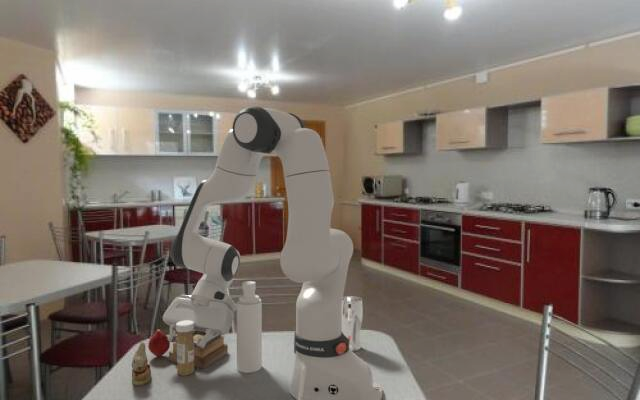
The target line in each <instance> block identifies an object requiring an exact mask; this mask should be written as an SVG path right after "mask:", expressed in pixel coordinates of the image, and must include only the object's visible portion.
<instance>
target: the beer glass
mask: <svg viewBox="0 0 640 400" xmlns="http://www.w3.org/2000/svg"><path fill="white" fill-rule="evenodd" d="M363 310H364V309H363V299H362V298H361V297H360V296H355V295H347V296H343V300H342V332H343V334H344V335H345V336H346V337H347V338H348V337H349V336H351V338H350V339H351V341H350V342H349V349H350V350H351V351H352V352H357V351H360V350H361V349H360V348H362V346H361V338H360V336H361V329H362V323H363V313H364V312H363Z"/></svg>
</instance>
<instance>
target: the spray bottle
mask: <svg viewBox="0 0 640 400" xmlns="http://www.w3.org/2000/svg"><path fill="white" fill-rule="evenodd" d="M241 286H242V289H241V290H242V291H243V294H242V295H240V296H239V297H238V298H237V299H236V306H237V309H236V369H237V371H238V372H239V373H245V374H250V373H256V372H258V371H260V370H261V369H262V365H263V359H262V358H263V356H262V355H263V352H262V351H263V350H262V349H263V347H262V346H263V344H262V343H263V342H262V340H263V339H262V338H263V335H262V333H263V328H262V324H263V323H262V322H263V321H262V319H263V318H262V317H263V316H262V313H263V312H262V309H263V307H262V304H263V303H262V298H261V297H260V296H259V295H257V294H255V293H256V292H255V291H256V290H257V285H256V281H252V280H249V281H248V280H247V281H246V280H245V281H243V282H242V285H241Z"/></svg>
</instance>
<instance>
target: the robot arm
mask: <svg viewBox="0 0 640 400" xmlns="http://www.w3.org/2000/svg"><path fill="white" fill-rule="evenodd" d="M266 155H277V157H278V158H279V159H280V161H281V165H282V170H283V171H282V172H283V179H284V184H285V191H286V192H285V193H286V198H287V205H288V207H287V209H288V220H287V233H286V239H285V243H284V246H283V248H282V250H281V253H280V257H279V264H280V268H281V270H282V273H283V274H284V275H285V276H286V278H288V279H289V280H290V281H292V282H293V283H297V284H302V285H301V286H302V287H301V290H300V292H299V295H298V296H297V299H296V303H295V305H296V306H295V307H296V308H295V312H296V313H295V317H296V318H295V320H296V321H295V322H296V323H295V331H294V337H293V351H294V355H295V357H294V364H293V365H294V366H293V373H292V376H291V382H290V385H289V388H288V390H289V393H290V395H291V397H293V399H295V400H382V398H383V388H382V386H381V384H379V383H378V382H375V381H374V380H373V372H372V370H371V367H370V365H369V364H368V363H366V362H365V361H364V360H363V359H362V358H360V357H359V356H358V355H357V354H356V353H354V351H351V350H350V349H349V342H350V341H351V339H350V338H351V336H349V337H348V338H347V337H346V336H345V335H344V334H343V332H342V300H343V297H344V292H345V287H346V281H347V276H348V270H349V265H350V261H351V259H352V257H353V253H354V244H353V240H352V239H351V237H350V236H349V234H347V233H346V232H345V231H343V230H341V229H338V228H337V229H336V228H331V222H332V221H331V219H332V211H333V208H334V206H335V205H334V204H335V198H334V197H335V196H334V191H333V185H332V179H331V178H332V177H331V173H330V166H329V161H328V157H327V153H326V149H325V146H324V143H323V140H322V138H321V136H320V135H319V133H318V132H317V131H315V130H313V129H311V128H307V126H306V124H305V122H304V121H303V119H301V118H300V117H299V116H297V115H296V114H293V113H292V112H291V113H290V112H285V111H281V110H279V109H277V108H270V107H261V106H251V107H245V108H243V109H241V110H240V111H239V112H237V114H236V116H234V119H233V123H232V128H231V129H230V130H229V131H227V132H226V133H225V137H224V139H223V142H222V144H221V146H220V149H219V153H218V155H217V160H216V164H215V168H214V171H213V172H212V174H211V175H210V176H209V178H207V179H204V180H201V182H200V184H199V185H198V186H197V188H196V190H195V192H194V194H193V196H192V198H191V201H190V203H189V206H188V208H187V211H186V213H185V215H184V218H183V220H182V223H181V226H180V227H179V230H178V233H177V234H176V236H175V238H174V240H173V242H172V244H171V246H170V249H169V255H170V258H171V261H172V262H173V264H174V265H175V266H176V267H177V268H183V269H186V270H192V271H196V272H197V273H201V274H203V275H202V276H201V278H200V279H199V280H197V281H198V282H197V284H196V286H195V287H194V289H193V290H192V293H191V294H190V295H189V294H188V295H187V294H180V295H178V296H175V298H174V299H173V300H172V302H171V303H170V305H169V306H168V307H167V309H166V310H165V312H164V314H163V315H162V321H163V322H164V323H165V324H166V326H167V325H168V326H169V335H168V336H167V337H168V341H169V342H170V343H174V342H175V341H176V339H177V331H176V324H177V323H178V322H180V321H184V320H190V321H193V322H194V330H197V331H203V332H205V333H206V335H205V336H204V337H203V338H202V339H198V342H197V344H196V345H197V346H198V347H200V348H204V346H205V344H206V342H208V341H209V340H210V339H211V338H212V337H213V336H214V334H220V335H221V336H225V335H226V334H228V333H229V332H230V329H231V327H232V325H233V322H234V318H235V312H237V303H235V301H234V300H233V298H232V297H230V295H228V289H229V286H230V285H231V284H232V283H233V281H234V279H235V276H236V274H237V273H238V270H239V268H240V262H241V261H240V260H241V254H240V252H239V250H237V249H236V248H235V246H233V245H231V244H229V243H227V242H223V241H221V240H220V241H219V240H216V239H212V238H209V237H205V236H202V235H201V234H199V228H200V225H201V224H202V221H203V219H204V217H205V213H206V211H207V210H208V207H209V206H211V205H216V204H228V203H233V202H234V203H235V202H238V201H241V200H244V199H246V198H248V196H249V195H250V194H251V193H252V191H253V189H254V187H255V185H256V180H257V178H258V177H257V176H258V173H259V168H260V165H261V164H260V163H261V160H262V159H263V158H264V156H266Z"/></svg>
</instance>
